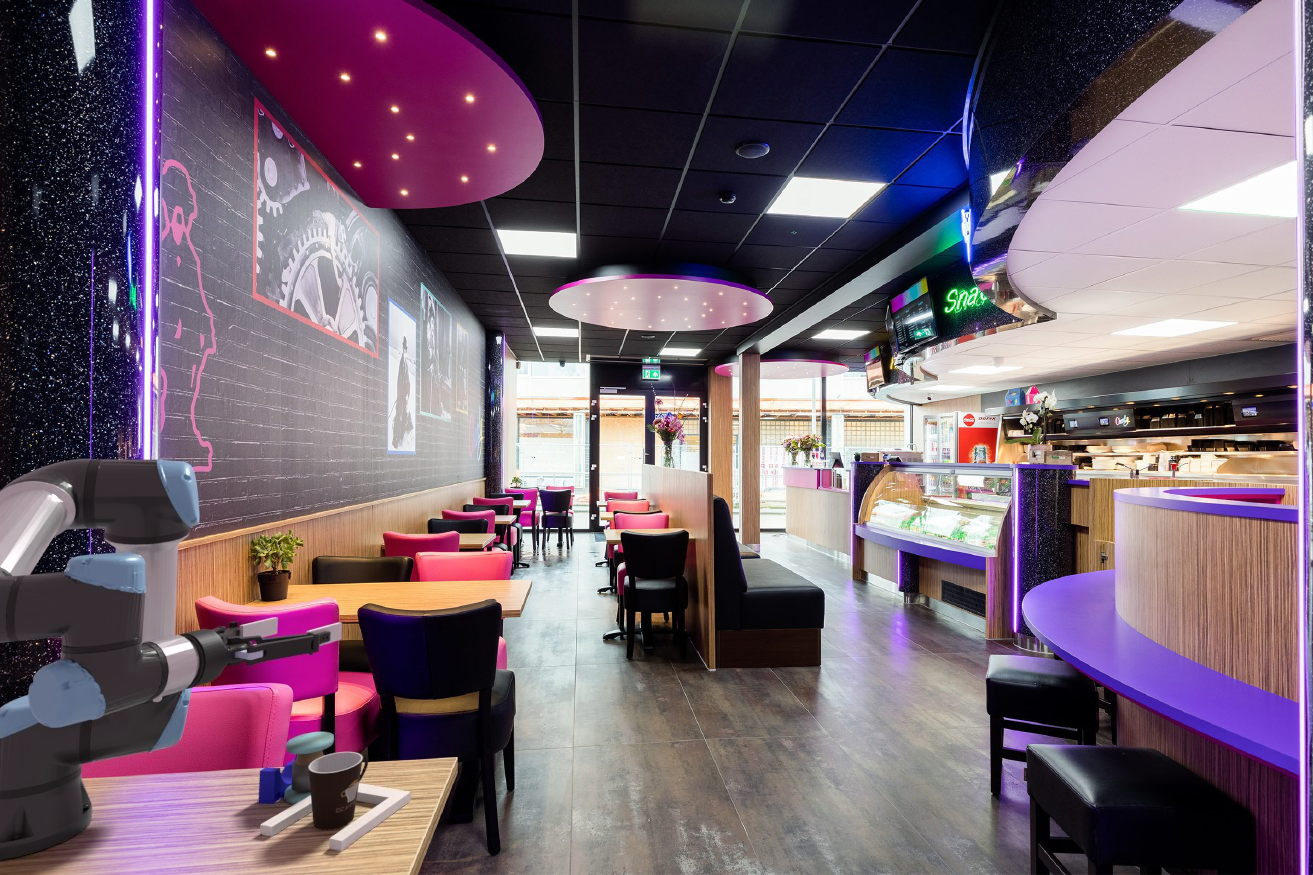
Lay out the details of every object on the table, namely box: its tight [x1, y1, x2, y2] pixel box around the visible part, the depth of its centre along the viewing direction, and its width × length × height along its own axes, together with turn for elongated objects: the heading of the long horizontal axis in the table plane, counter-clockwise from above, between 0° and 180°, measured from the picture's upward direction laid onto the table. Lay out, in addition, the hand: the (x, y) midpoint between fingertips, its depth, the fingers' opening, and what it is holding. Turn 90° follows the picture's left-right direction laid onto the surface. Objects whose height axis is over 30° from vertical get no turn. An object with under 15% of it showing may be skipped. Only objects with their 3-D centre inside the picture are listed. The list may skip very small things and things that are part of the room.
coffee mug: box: [308, 751, 369, 831], centre depth 113 cm, size 12×9×10 cm
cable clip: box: [258, 754, 297, 805], centre depth 123 cm, size 12×4×6 cm, turn 175°
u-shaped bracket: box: [259, 782, 412, 852], centre depth 113 cm, size 17×17×2 cm
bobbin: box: [283, 731, 335, 805], centre depth 121 cm, size 8×8×10 cm
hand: (307, 627), depth 107 cm, fingers open, 13 cm apart
